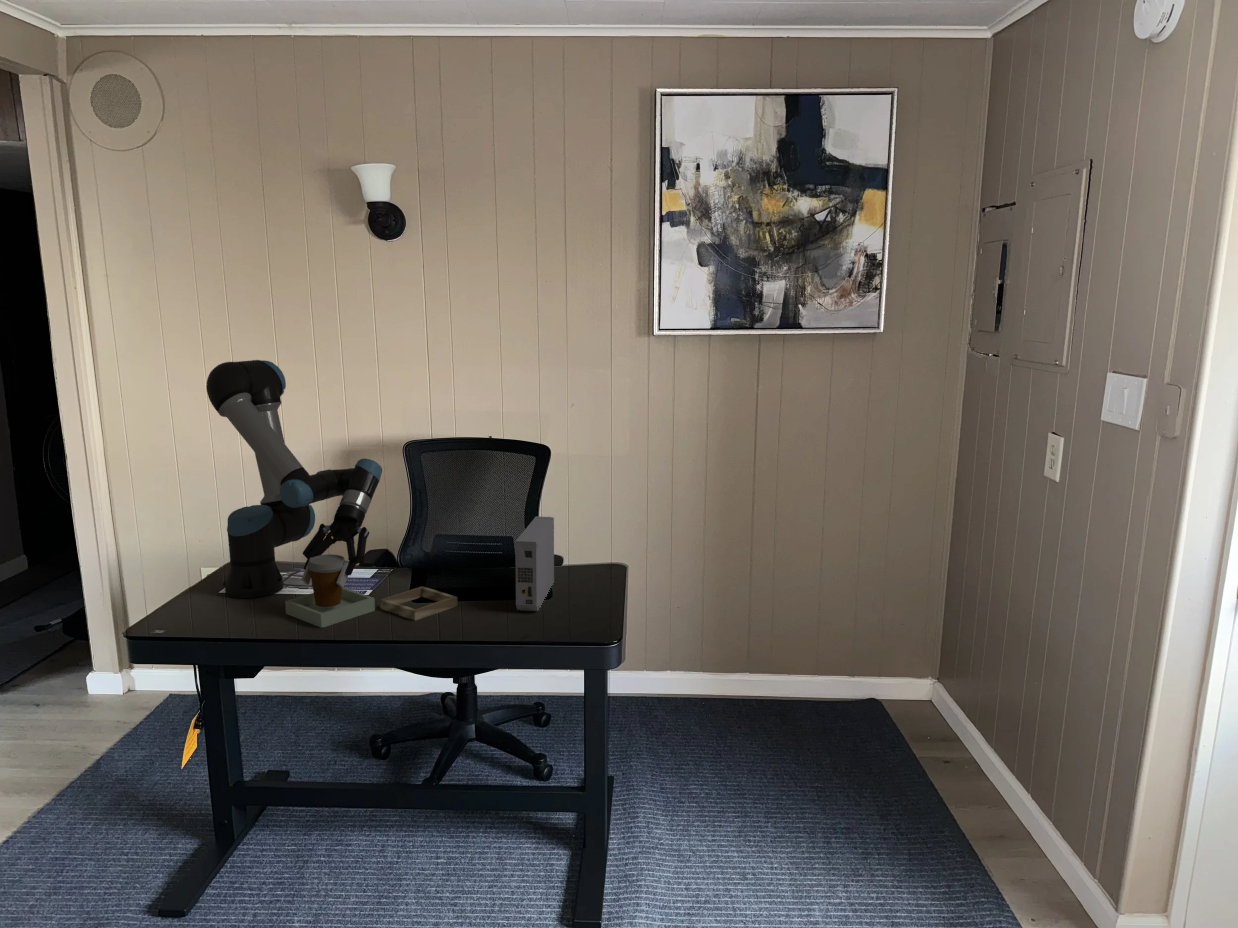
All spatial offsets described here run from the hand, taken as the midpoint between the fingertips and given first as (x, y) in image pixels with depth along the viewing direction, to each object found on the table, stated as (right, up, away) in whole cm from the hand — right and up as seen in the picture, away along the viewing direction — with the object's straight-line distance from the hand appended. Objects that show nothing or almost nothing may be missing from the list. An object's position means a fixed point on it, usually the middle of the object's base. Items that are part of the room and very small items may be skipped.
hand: (322, 583), depth 215 cm
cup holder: (+23, -8, +9) cm, 26 cm away
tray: (+1, -8, +5) cm, 9 cm away
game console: (+54, -7, +18) cm, 57 cm away
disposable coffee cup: (0, -6, +4) cm, 7 cm away
